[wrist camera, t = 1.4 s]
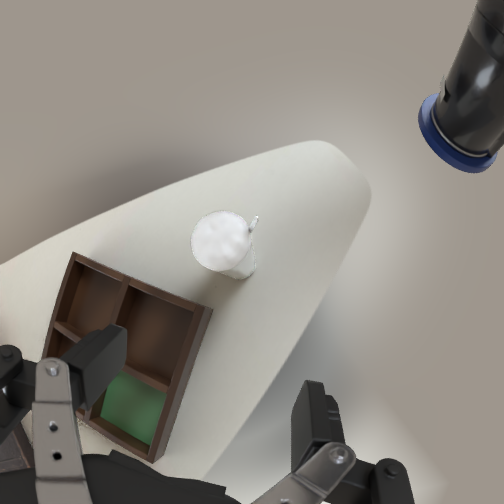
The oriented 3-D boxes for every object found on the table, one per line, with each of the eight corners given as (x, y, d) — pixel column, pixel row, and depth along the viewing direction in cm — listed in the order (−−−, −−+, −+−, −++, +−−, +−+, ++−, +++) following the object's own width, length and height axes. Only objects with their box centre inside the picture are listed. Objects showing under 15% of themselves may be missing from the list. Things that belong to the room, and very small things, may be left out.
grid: (213, 309, 29) (205, 306, 27) (163, 455, 26) (152, 464, 23) (86, 257, 33) (72, 251, 30) (50, 382, 29) (36, 384, 27)
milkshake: (276, 276, 29) (266, 249, 20) (223, 292, 30) (188, 272, 20) (263, 233, 30) (248, 189, 21) (212, 248, 31) (177, 212, 21)
